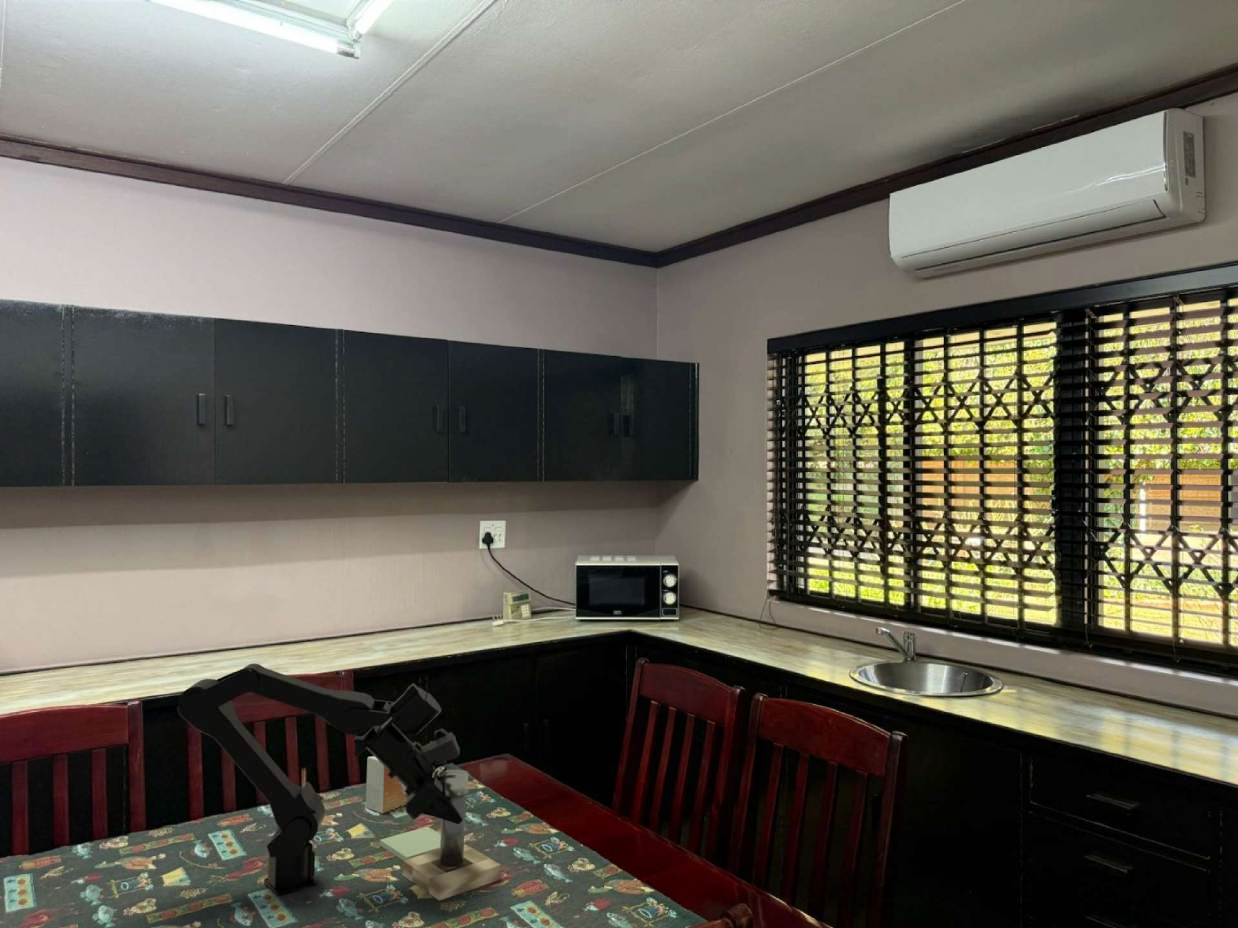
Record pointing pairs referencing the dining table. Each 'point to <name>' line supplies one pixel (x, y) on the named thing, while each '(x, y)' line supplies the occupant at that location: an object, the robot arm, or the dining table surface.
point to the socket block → (451, 873)
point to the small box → (383, 788)
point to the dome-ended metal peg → (451, 831)
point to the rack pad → (412, 843)
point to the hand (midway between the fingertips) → (461, 816)
